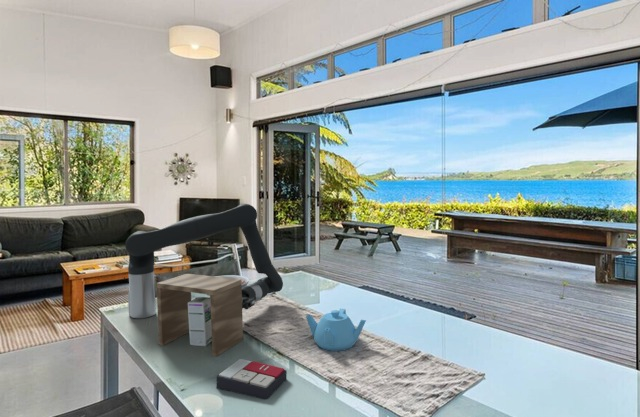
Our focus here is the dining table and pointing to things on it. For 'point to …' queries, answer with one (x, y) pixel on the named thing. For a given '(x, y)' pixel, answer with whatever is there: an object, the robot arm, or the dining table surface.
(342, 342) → the teapot
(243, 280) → the ramen bowl
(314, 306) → the dining table surface
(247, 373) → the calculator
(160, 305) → the cubby shelf
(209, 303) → the syrup box
